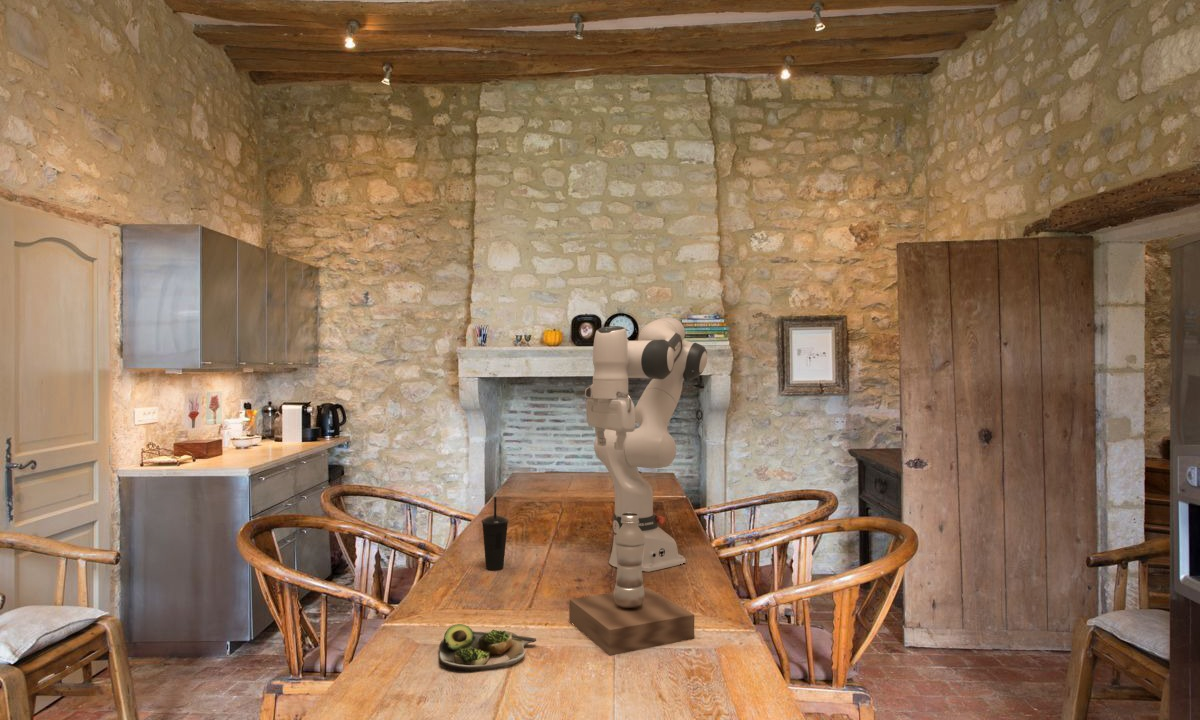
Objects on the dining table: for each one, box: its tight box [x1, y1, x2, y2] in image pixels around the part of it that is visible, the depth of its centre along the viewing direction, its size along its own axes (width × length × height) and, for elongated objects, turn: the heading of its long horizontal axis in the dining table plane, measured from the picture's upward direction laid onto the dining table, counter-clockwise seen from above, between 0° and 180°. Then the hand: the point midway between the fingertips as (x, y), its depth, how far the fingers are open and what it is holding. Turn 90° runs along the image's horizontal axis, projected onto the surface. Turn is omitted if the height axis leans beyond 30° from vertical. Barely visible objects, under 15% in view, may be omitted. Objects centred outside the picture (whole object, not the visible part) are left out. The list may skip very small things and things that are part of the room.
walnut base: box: [568, 586, 695, 656], centre depth 150 cm, size 20×20×5 cm
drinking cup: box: [481, 496, 510, 572], centre depth 195 cm, size 8×8×20 cm
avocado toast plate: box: [438, 623, 537, 673], centre depth 138 cm, size 19×18×5 cm
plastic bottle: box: [613, 513, 645, 608], centre depth 150 cm, size 6×7×20 cm
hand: (610, 447), depth 171 cm, fingers open, 8 cm apart
